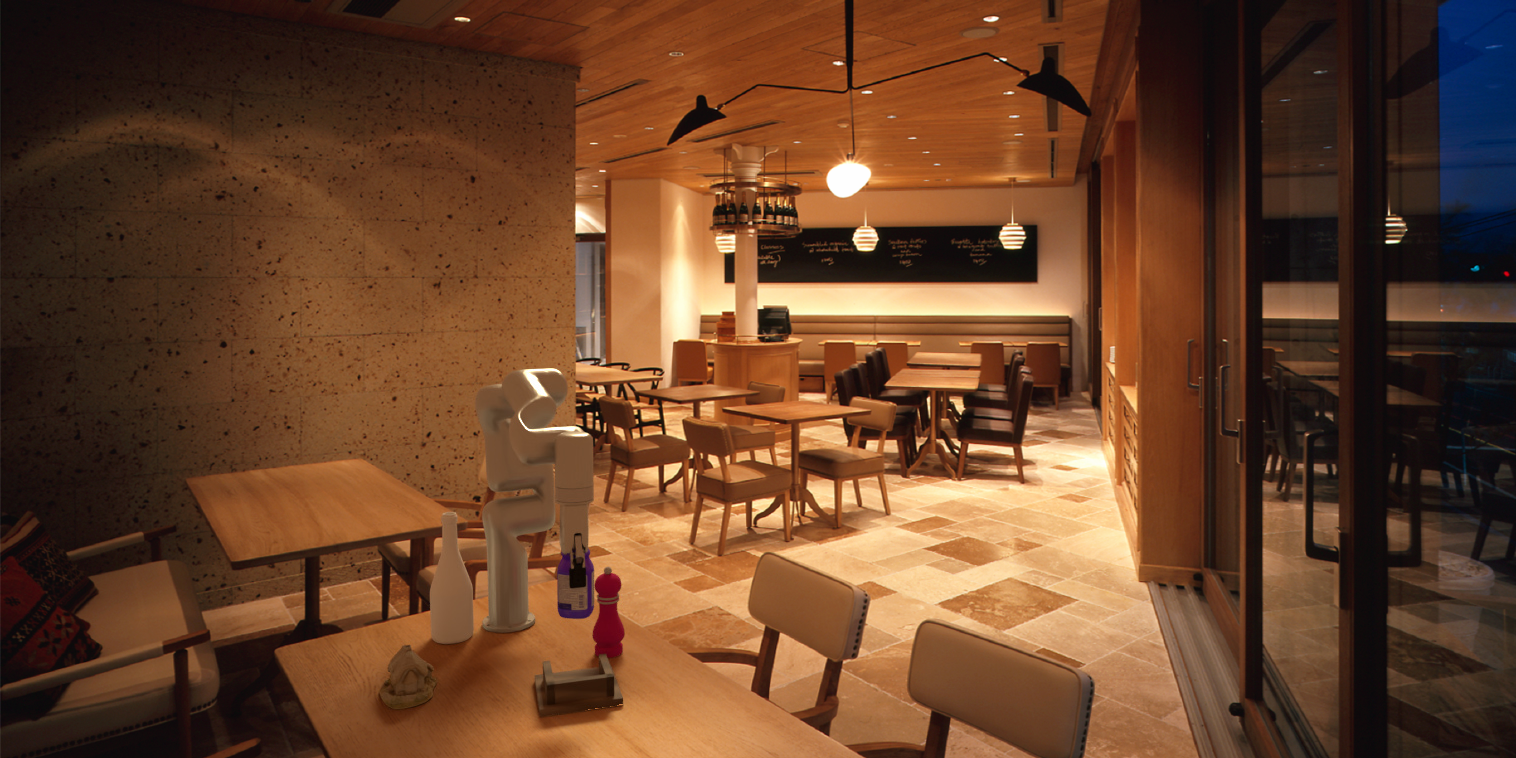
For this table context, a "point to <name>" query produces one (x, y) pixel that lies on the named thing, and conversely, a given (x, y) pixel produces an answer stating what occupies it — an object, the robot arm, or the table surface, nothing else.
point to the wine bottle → (451, 590)
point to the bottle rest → (577, 689)
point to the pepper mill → (608, 616)
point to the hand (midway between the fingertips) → (575, 580)
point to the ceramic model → (407, 680)
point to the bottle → (575, 590)
